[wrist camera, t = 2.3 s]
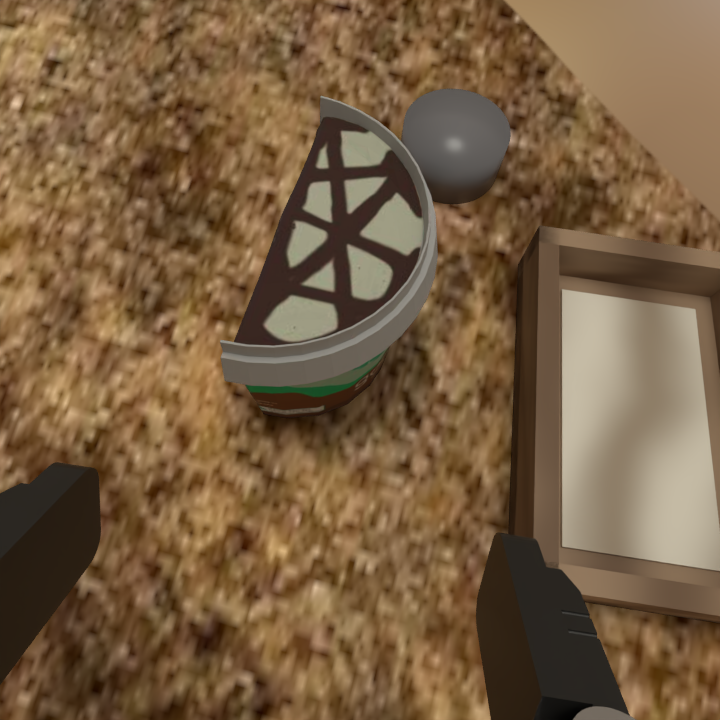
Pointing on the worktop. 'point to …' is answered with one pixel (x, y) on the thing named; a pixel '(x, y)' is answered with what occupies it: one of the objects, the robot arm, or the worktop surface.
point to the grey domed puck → (456, 143)
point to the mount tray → (620, 419)
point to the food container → (337, 271)
